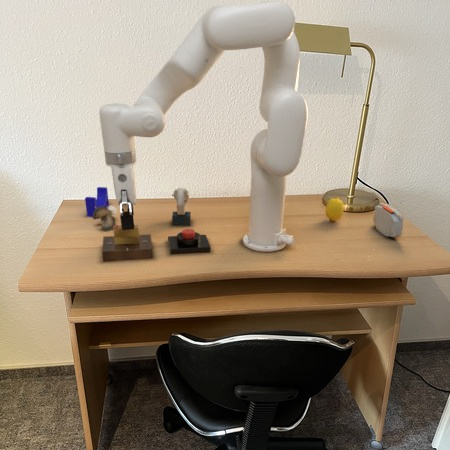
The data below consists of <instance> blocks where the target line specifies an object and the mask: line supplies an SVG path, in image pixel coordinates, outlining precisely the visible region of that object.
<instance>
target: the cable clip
mask: <svg viewBox="0 0 450 450" xmlns="http://www.w3.org/2000/svg"><path fill="white" fill-rule="evenodd" d="M84 202H85V209H86V217H90V218H93V213H94V210H95V209H96V208H95V207H94V206H96V207H99V206H100V207H102V206H103V207H104V206H105V207H106V209H107V208H108V207H109V206H110V203H109V202H110V201H109V193H108V187H107V186H106V187H104V186H98V187H96V197H95V196H86V197H85V198H84Z"/></svg>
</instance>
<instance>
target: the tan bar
mask: <svg viewBox="0 0 450 450" xmlns="http://www.w3.org/2000/svg"><path fill="white" fill-rule="evenodd" d="M139 231H140V230H139V224H134V229H130V230H122V226H121V225H119V224H115V225H114V228H113V236H114V240H115V245H117V244H139V235H140V232H139Z"/></svg>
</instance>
